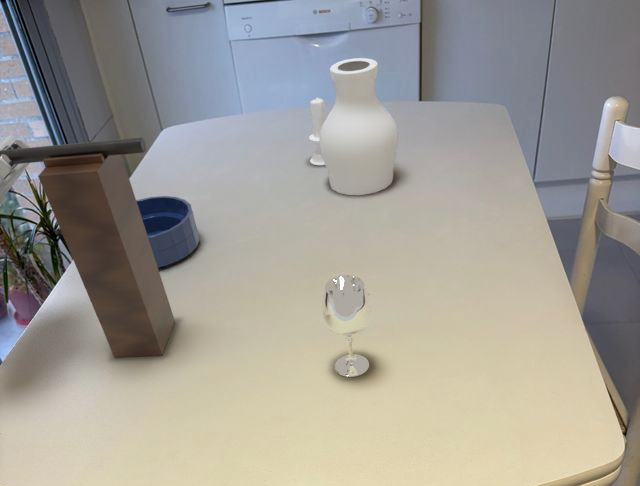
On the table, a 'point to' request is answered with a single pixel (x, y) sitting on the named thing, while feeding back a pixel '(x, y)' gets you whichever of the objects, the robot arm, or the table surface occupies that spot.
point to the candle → (317, 128)
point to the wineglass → (347, 318)
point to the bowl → (169, 228)
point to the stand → (110, 250)
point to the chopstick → (76, 150)
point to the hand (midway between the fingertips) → (15, 153)
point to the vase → (358, 132)
